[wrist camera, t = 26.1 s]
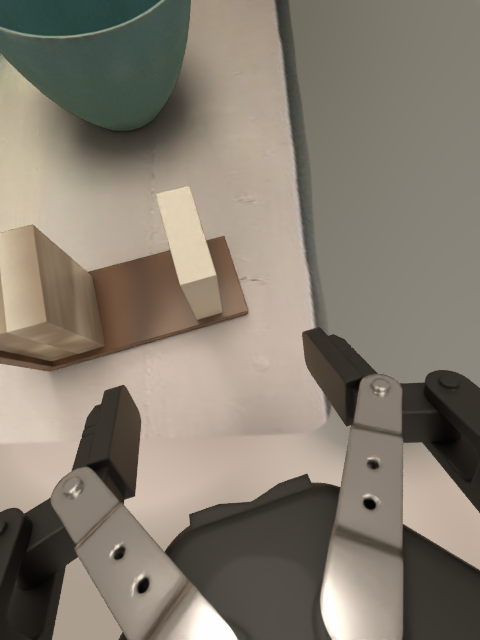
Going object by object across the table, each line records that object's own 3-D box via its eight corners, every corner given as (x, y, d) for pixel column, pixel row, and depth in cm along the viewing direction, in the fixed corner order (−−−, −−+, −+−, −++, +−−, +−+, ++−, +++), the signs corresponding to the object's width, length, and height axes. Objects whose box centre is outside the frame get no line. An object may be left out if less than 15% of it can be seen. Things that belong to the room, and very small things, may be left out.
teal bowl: (216, 54, 37) (206, -109, 25) (190, 178, 32) (162, 48, 20) (71, 38, 37) (-5, -130, 26) (24, 158, 33) (-96, 19, 21)
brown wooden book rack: (48, 371, 27) (-49, 356, 18) (37, 290, 29) (-56, 239, 20) (248, 313, 28) (253, 272, 19) (224, 241, 30) (219, 171, 21)
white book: (197, 320, 27) (179, 285, 19) (178, 252, 29) (155, 193, 21) (222, 312, 27) (216, 275, 19) (202, 246, 29) (189, 185, 21)
